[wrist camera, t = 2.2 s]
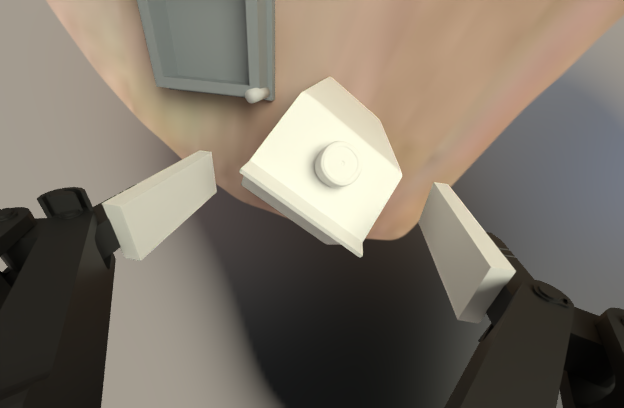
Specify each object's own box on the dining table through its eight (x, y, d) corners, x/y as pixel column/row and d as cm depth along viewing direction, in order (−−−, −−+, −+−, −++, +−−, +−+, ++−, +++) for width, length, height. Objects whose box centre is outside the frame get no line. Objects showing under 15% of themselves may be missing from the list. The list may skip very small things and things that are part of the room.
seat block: (146, -58, 22) (95, -87, 18) (274, -51, 21) (254, -80, 16) (174, 88, 28) (142, 92, 24) (274, 99, 27) (259, 106, 23)
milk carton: (338, 166, 30) (318, 290, 14) (292, 129, 28) (208, 219, 12) (380, 119, 26) (420, 212, 10) (330, 75, 25) (283, 100, 9)
